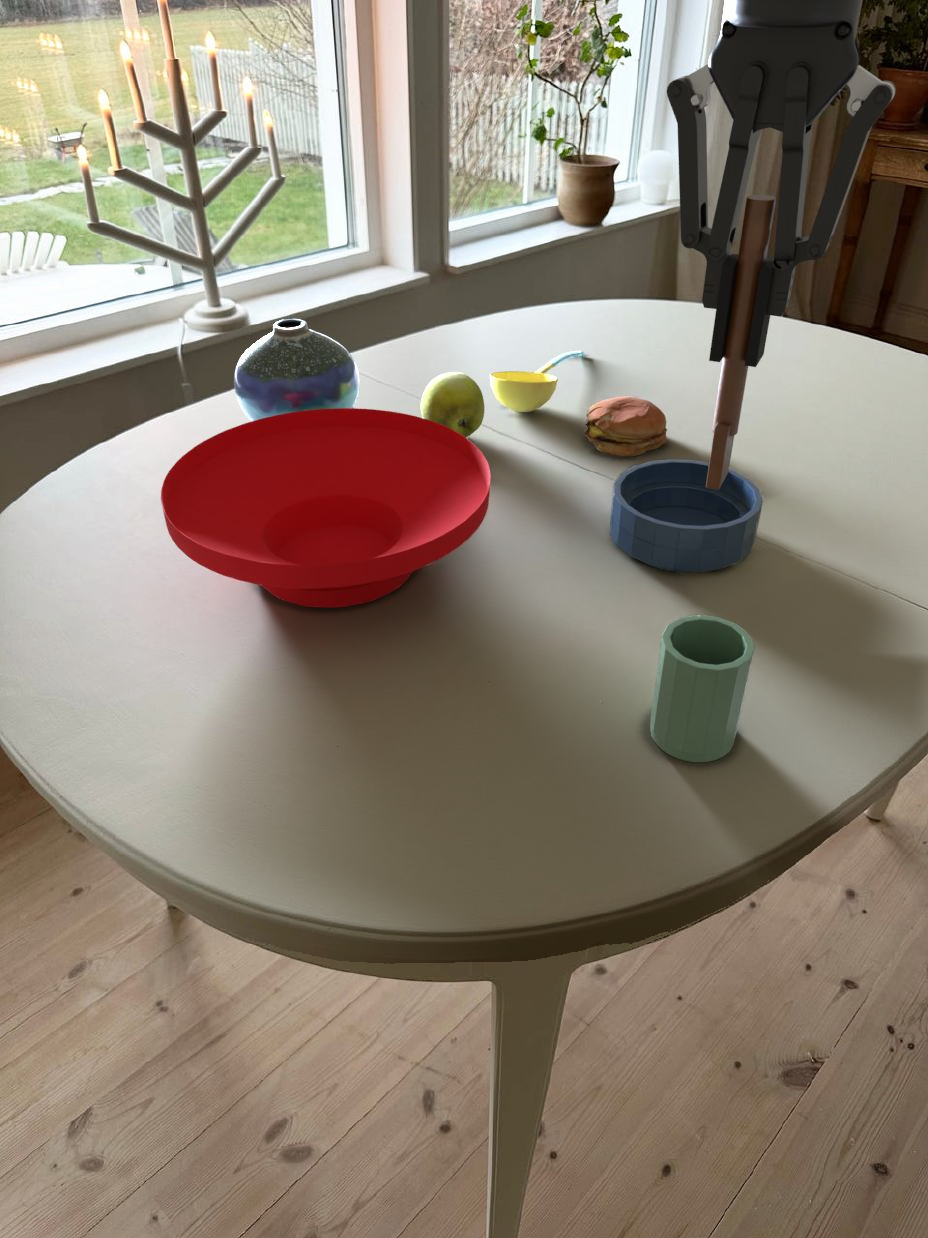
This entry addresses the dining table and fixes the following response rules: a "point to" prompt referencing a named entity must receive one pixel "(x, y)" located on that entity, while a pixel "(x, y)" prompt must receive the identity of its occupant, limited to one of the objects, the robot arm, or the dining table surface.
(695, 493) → the blue pet dish
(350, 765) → the dining table surface
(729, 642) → the crock
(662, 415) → the burger
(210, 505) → the bowl
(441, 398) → the apple
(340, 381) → the vase
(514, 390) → the ladle
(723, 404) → the stick
